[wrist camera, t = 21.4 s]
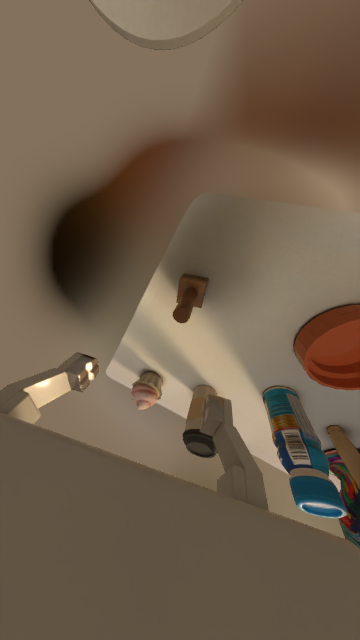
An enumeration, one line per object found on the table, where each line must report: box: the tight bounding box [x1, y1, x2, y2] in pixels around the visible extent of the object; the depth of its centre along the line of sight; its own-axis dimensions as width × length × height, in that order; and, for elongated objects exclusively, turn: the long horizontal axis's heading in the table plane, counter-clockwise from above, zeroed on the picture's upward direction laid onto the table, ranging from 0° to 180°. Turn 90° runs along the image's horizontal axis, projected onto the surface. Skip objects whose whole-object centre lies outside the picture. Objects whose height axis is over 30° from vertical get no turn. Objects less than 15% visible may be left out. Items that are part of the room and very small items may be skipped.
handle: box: [327, 426, 360, 489], centre depth 36 cm, size 5×6×15 cm
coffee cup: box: [183, 385, 218, 458], centre depth 41 cm, size 9×9×15 cm
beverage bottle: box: [263, 387, 347, 518], centre depth 33 cm, size 8×8×20 cm
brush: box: [173, 274, 208, 323], centre depth 27 cm, size 5×5×12 cm
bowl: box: [294, 305, 360, 390], centre depth 29 cm, size 16×16×5 cm
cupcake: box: [132, 372, 162, 409], centre depth 45 cm, size 9×9×10 cm
